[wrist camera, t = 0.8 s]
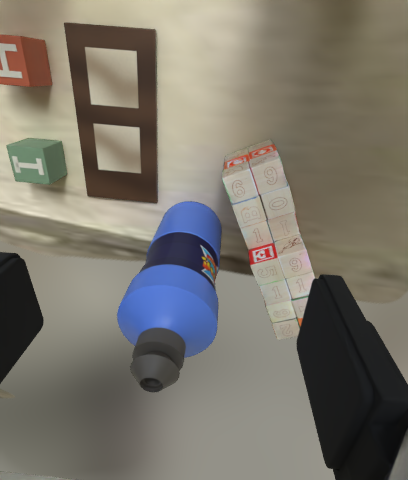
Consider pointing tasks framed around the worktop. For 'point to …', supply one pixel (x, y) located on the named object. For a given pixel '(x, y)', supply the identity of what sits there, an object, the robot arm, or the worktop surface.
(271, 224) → the stack of blocks
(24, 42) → the letter H
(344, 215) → the worktop surface
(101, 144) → the word board
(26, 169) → the letter I
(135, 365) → the water bottle
